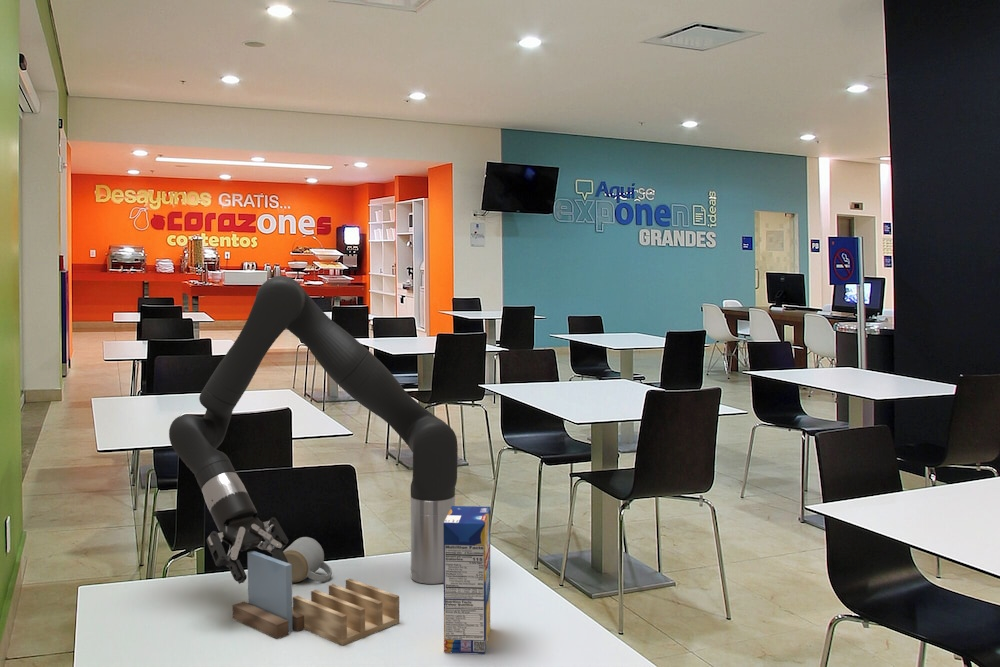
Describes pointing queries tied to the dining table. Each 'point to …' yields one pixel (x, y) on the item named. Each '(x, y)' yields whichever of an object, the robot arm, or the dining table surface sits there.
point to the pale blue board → (270, 585)
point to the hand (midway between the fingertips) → (264, 575)
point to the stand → (266, 620)
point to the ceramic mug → (307, 560)
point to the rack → (348, 611)
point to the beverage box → (466, 579)
